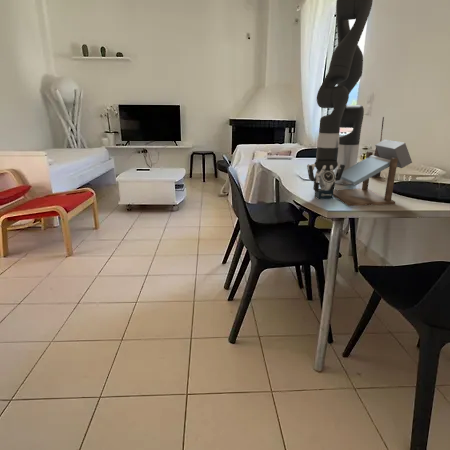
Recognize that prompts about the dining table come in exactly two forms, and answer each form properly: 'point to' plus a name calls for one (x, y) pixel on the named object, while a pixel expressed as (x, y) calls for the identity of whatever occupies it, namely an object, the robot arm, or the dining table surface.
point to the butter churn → (377, 151)
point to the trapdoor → (378, 162)
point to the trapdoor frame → (366, 195)
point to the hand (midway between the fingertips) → (323, 191)
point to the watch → (325, 185)
